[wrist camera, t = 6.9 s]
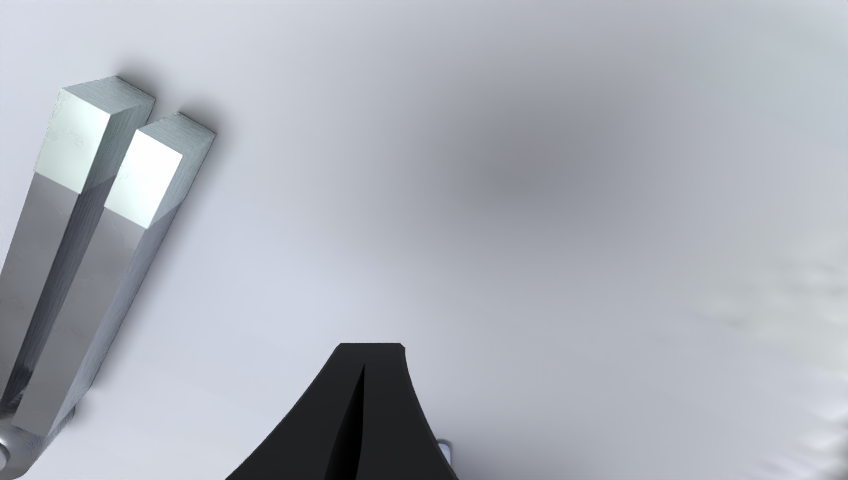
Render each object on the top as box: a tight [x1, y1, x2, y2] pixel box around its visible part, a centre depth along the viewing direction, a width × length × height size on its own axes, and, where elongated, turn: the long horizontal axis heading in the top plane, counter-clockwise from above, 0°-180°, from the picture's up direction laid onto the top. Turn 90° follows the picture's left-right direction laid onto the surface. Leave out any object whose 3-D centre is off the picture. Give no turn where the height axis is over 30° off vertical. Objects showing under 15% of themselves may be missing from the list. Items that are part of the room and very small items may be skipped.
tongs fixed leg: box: [0, 112, 216, 480], centre depth 20 cm, size 18×3×3 cm, turn 147°
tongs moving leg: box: [0, 76, 156, 411], centre depth 20 cm, size 14×2×3 cm, turn 148°
